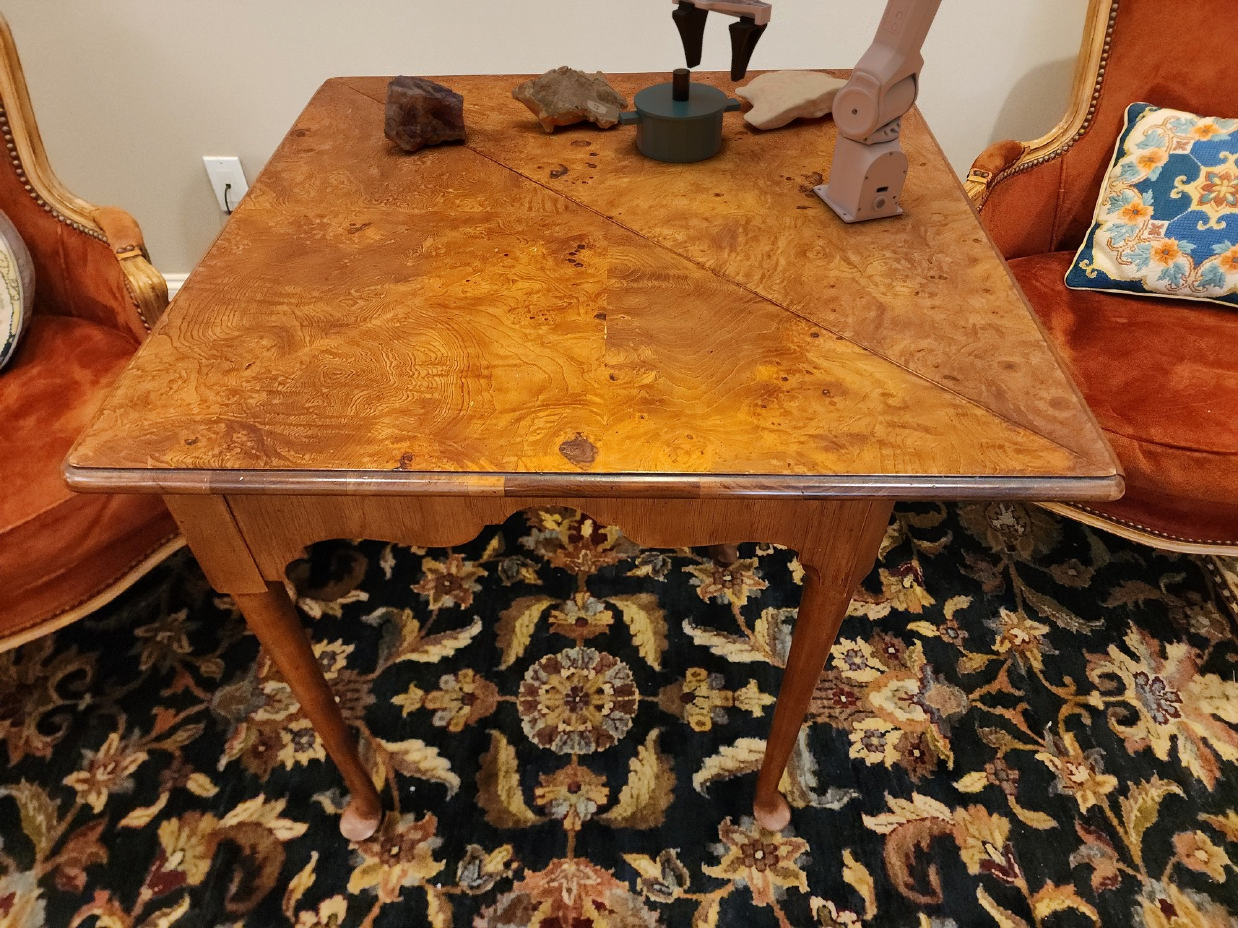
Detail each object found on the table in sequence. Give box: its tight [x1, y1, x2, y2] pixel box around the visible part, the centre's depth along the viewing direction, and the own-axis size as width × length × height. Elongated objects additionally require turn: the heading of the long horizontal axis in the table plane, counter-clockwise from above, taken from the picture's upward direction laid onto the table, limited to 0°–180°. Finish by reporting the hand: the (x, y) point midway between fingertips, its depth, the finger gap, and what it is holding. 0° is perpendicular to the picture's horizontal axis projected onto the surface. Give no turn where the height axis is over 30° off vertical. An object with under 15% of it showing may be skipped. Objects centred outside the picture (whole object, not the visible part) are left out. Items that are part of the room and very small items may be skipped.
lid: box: [633, 67, 729, 121], centre depth 105 cm, size 13×13×5 cm
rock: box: [383, 74, 467, 152], centre depth 110 cm, size 12×9×10 cm
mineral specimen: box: [511, 65, 629, 134], centre depth 115 cm, size 13×7×15 cm
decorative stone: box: [734, 69, 849, 131], centre depth 118 cm, size 21×5×15 cm
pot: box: [618, 97, 742, 164], centre depth 109 cm, size 12×18×6 cm
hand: (715, 73), depth 103 cm, fingers open, 7 cm apart
